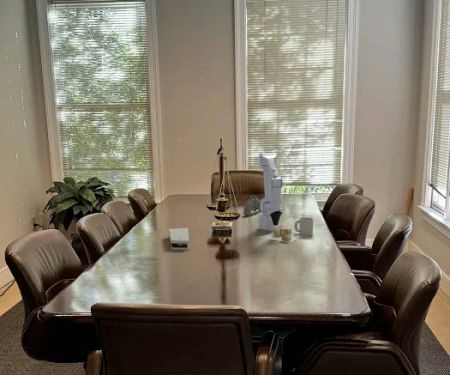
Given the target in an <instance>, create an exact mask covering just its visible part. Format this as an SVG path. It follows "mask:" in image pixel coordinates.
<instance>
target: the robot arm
mask: <svg viewBox="0 0 450 375" xmlns="http://www.w3.org/2000/svg"><path fill="white" fill-rule="evenodd" d="M277 163H278V154H277V153H276V152H268V153H267V152H266V153H265V152H263V153H262V152H260V153H259V155H258V164H259V168H260V169H261V170H262V171H263V184H264V186H263V187H264V197H263V198H262V199H261V200H260V201H261V206H260V209H261V211H260V214H259V215H258V228H257V229H258V230H264V231H270V232H273V228H275V227H278V226H279V222H280V218H281V215H282V214H283V212H282V211H284V210H285V206H283V205H282V188H283V178H282V177H281V176H280V174H279V170H278V169H277V168H276V166H277Z"/></svg>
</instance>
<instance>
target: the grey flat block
mask: <svg viewBox="0 0 450 375" xmlns="http://www.w3.org/2000/svg"><path fill="white" fill-rule="evenodd" d="M168 234H169V235H168V237H169V243H170V248H171V250H175V251H176V250H178V251H179V250H182V251H183V250H185V251H187V250H190V236H189V235H190V234H189V228H188V227H184V228H183V227H182V228H181V227H180V228H169V229H168Z"/></svg>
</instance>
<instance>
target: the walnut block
mask: <svg viewBox="0 0 450 375" xmlns="http://www.w3.org/2000/svg"><path fill="white" fill-rule="evenodd" d="M284 227H285V226H284V225H283V226H282V225H277V226H276V227H275V228H273V231H272V232H273V236H278V237H280V236H281V233H282V228H284Z"/></svg>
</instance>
